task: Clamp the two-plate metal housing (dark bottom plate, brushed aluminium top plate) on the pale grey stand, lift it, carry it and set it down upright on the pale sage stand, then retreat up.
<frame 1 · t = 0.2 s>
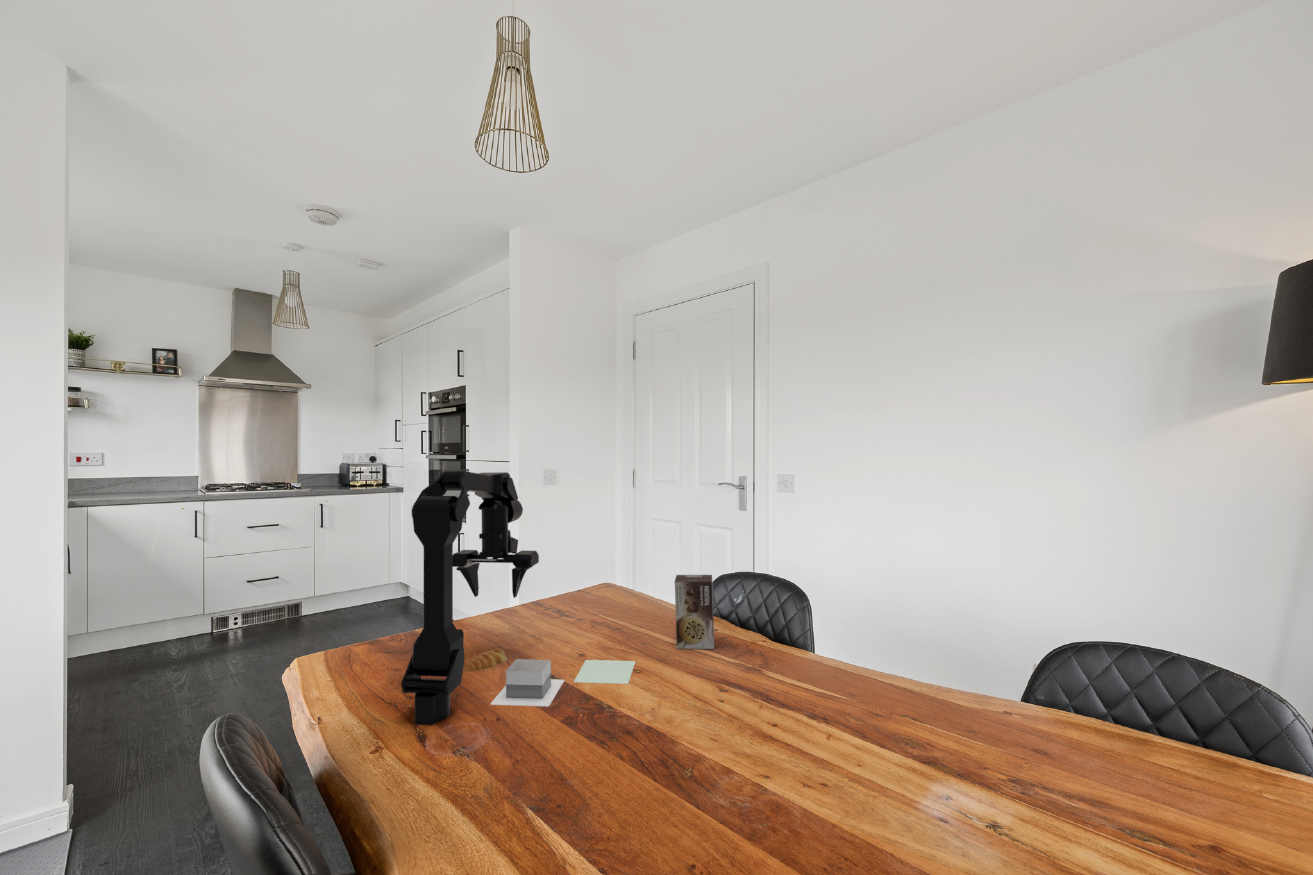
hand: (495, 596, 123), 14 cm above the table, fingers open, 9 cm apart
coffee box: (695, 645, 131), on the table
stand a: (529, 699, 104), on the table
housing: (529, 691, 104), point 1 cm above the table, touching stand a
stand b: (605, 678, 113), on the table
pastry: (486, 671, 119), on the table
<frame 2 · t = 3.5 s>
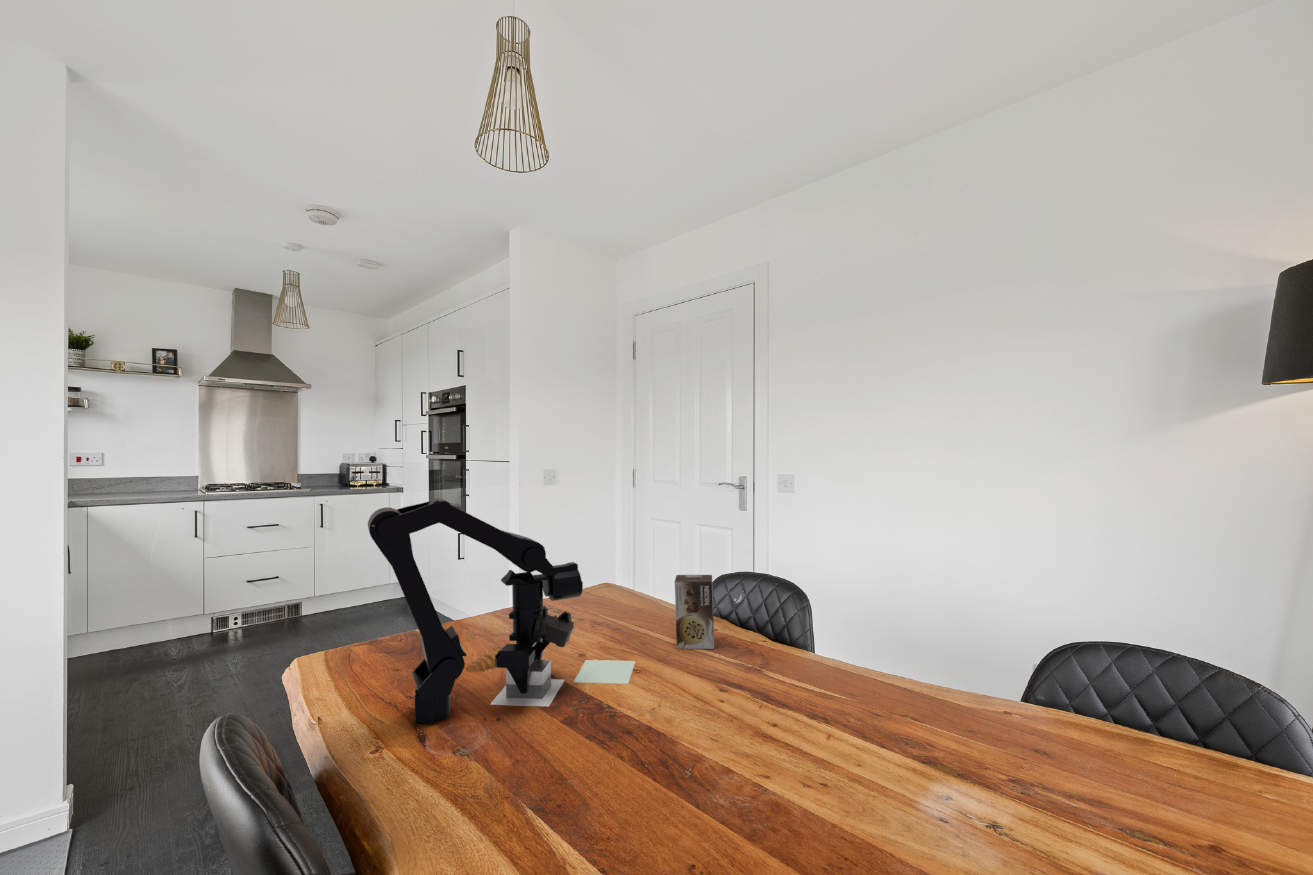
hand: (529, 686, 104), 3 cm above the table, fingers closed on housing, 5 cm apart
housing: (529, 691, 104), point 1 cm above the table, touching gripper, stand a
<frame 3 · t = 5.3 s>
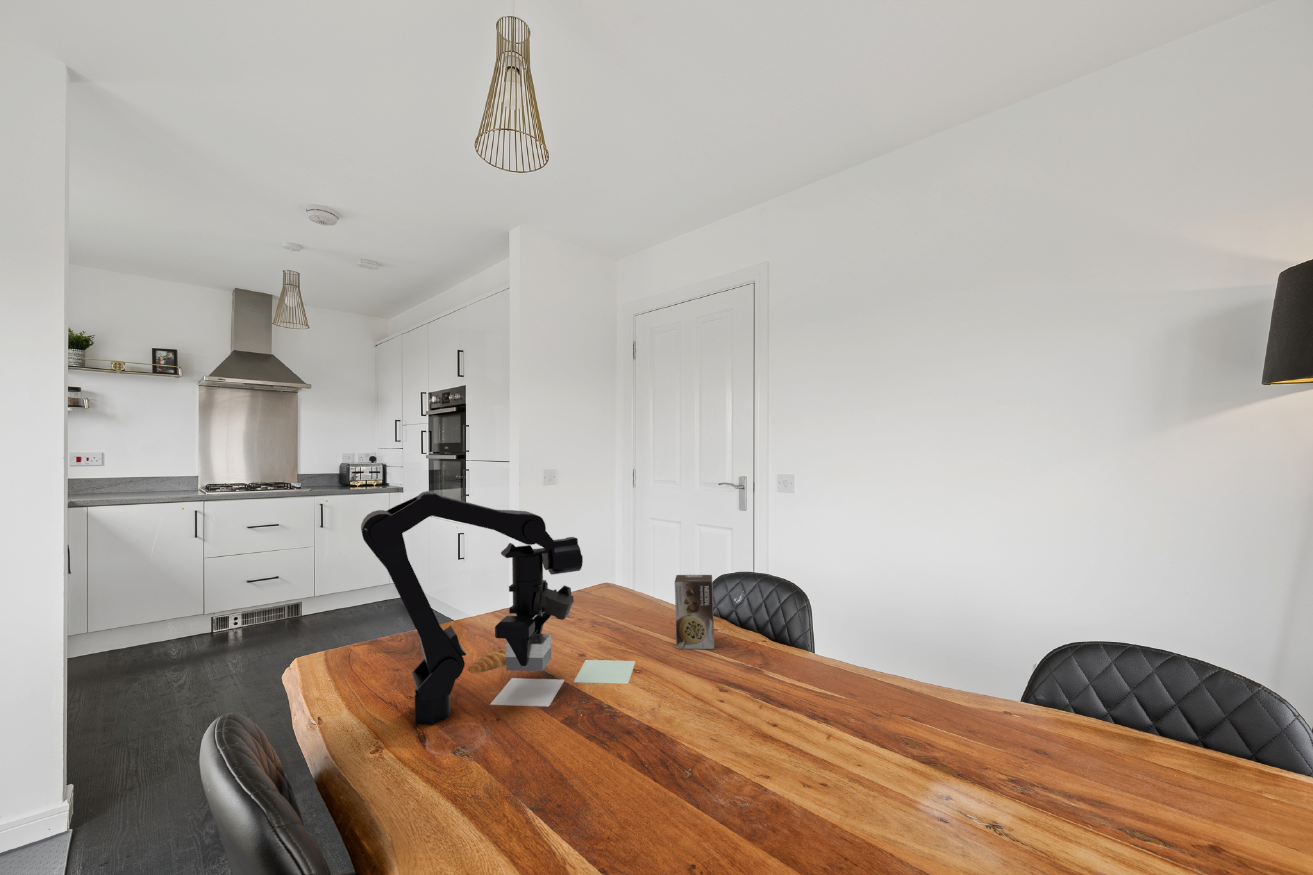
hand: (529, 659, 105), 8 cm above the table, fingers closed on housing, 5 cm apart
housing: (529, 664, 105), point 7 cm above the table, touching gripper
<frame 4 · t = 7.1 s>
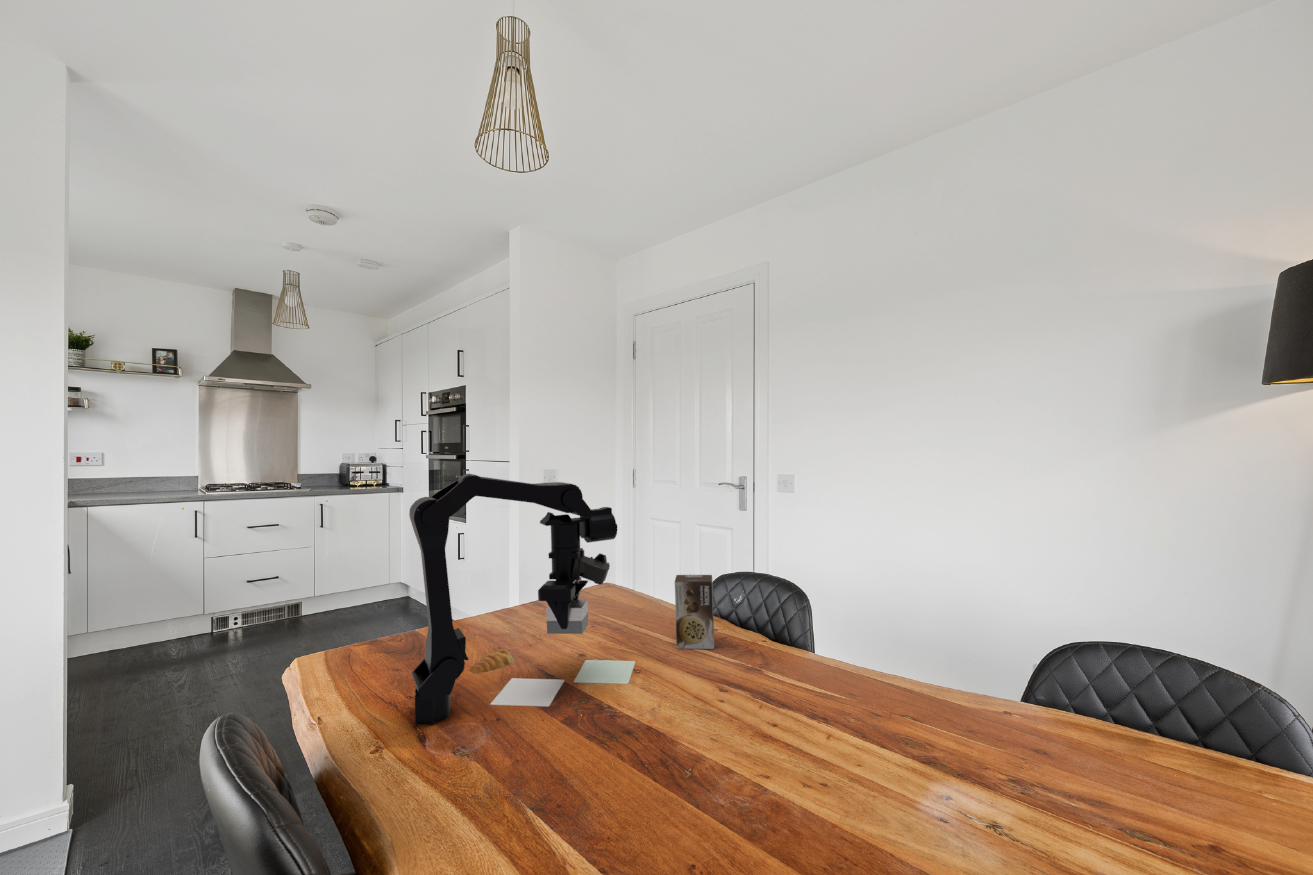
hand: (568, 623, 109), 13 cm above the table, fingers closed on housing, 5 cm apart
housing: (568, 628, 109), point 12 cm above the table, touching gripper
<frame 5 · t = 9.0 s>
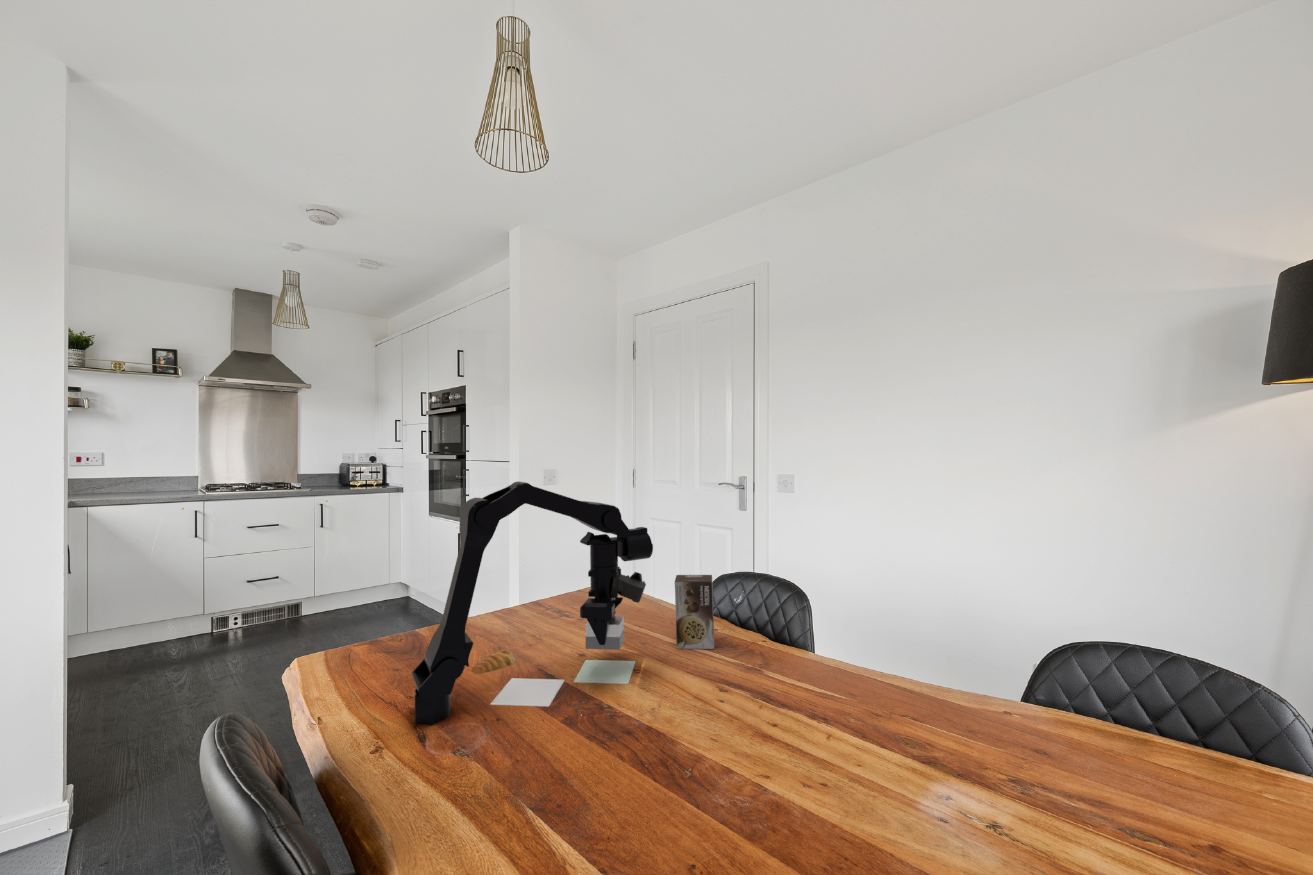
hand: (605, 639, 113), 8 cm above the table, fingers closed on housing, 5 cm apart
housing: (605, 644, 113), point 7 cm above the table, touching gripper
when the fingers open (4 cm above the table, at t = 10.8 s): housing drops 1 cm, resting on stand b.
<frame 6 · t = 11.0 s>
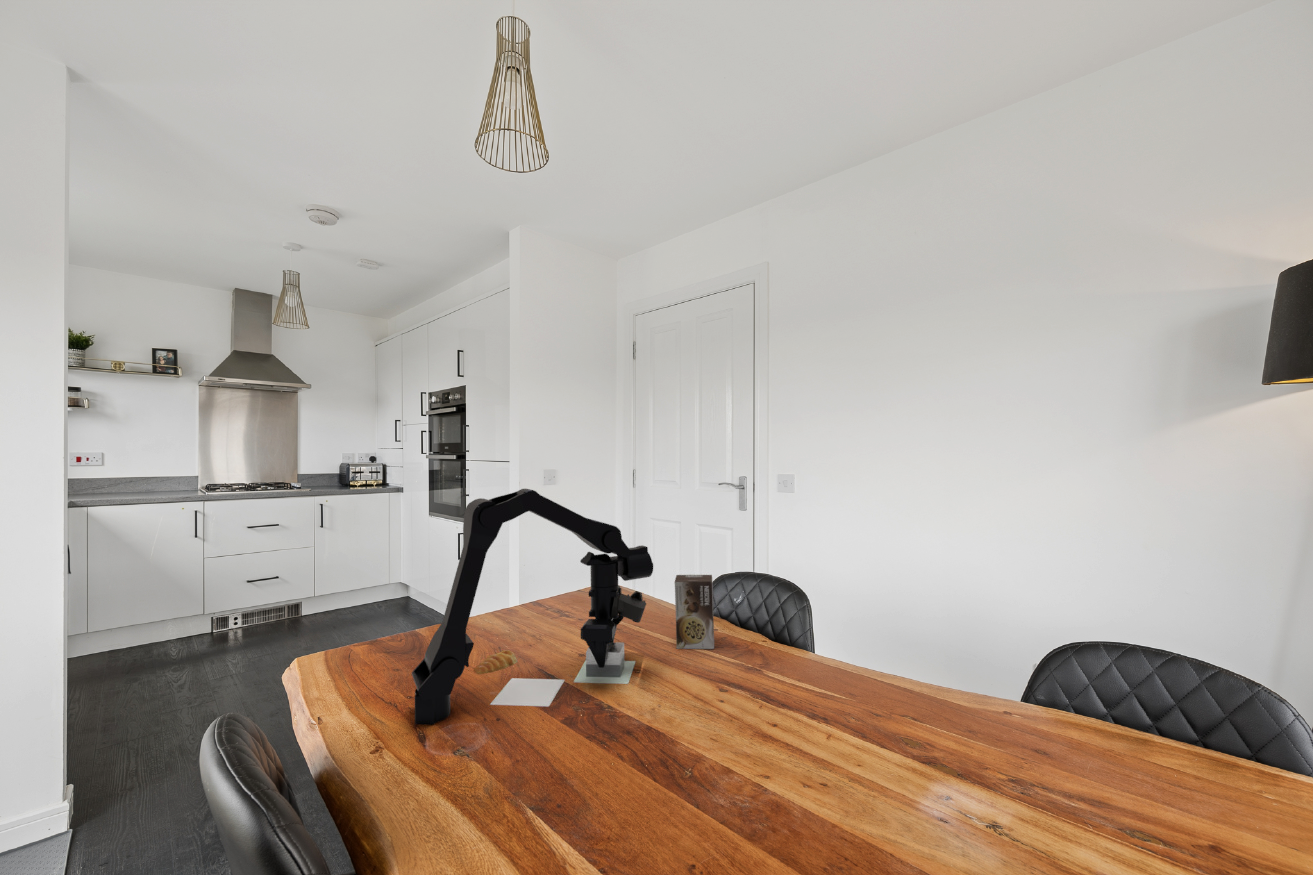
hand: (605, 659, 113), 4 cm above the table, fingers open, 8 cm apart
housing: (605, 671, 113), point 1 cm above the table, touching stand b
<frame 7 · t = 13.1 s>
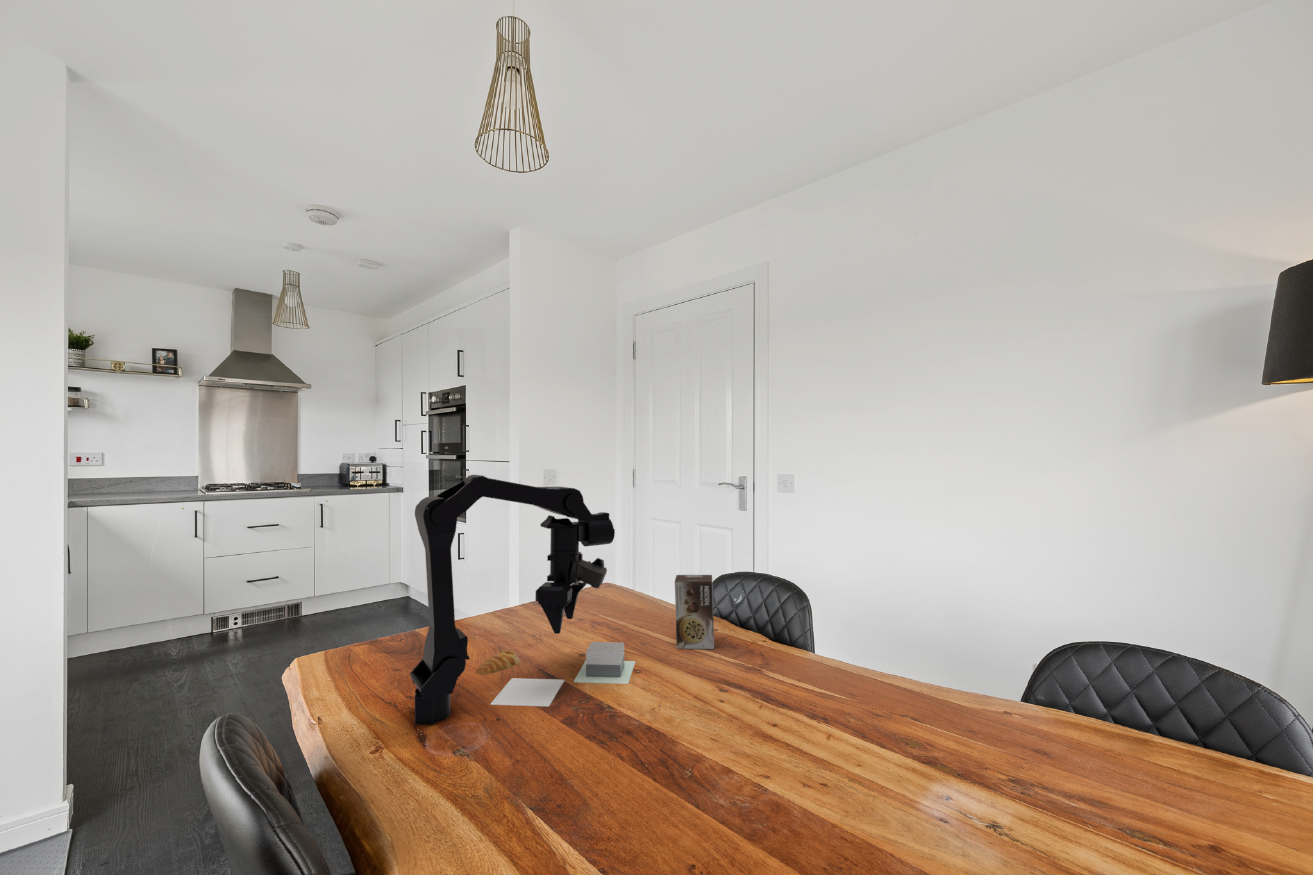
hand: (563, 625, 111), 12 cm above the table, fingers open, 9 cm apart
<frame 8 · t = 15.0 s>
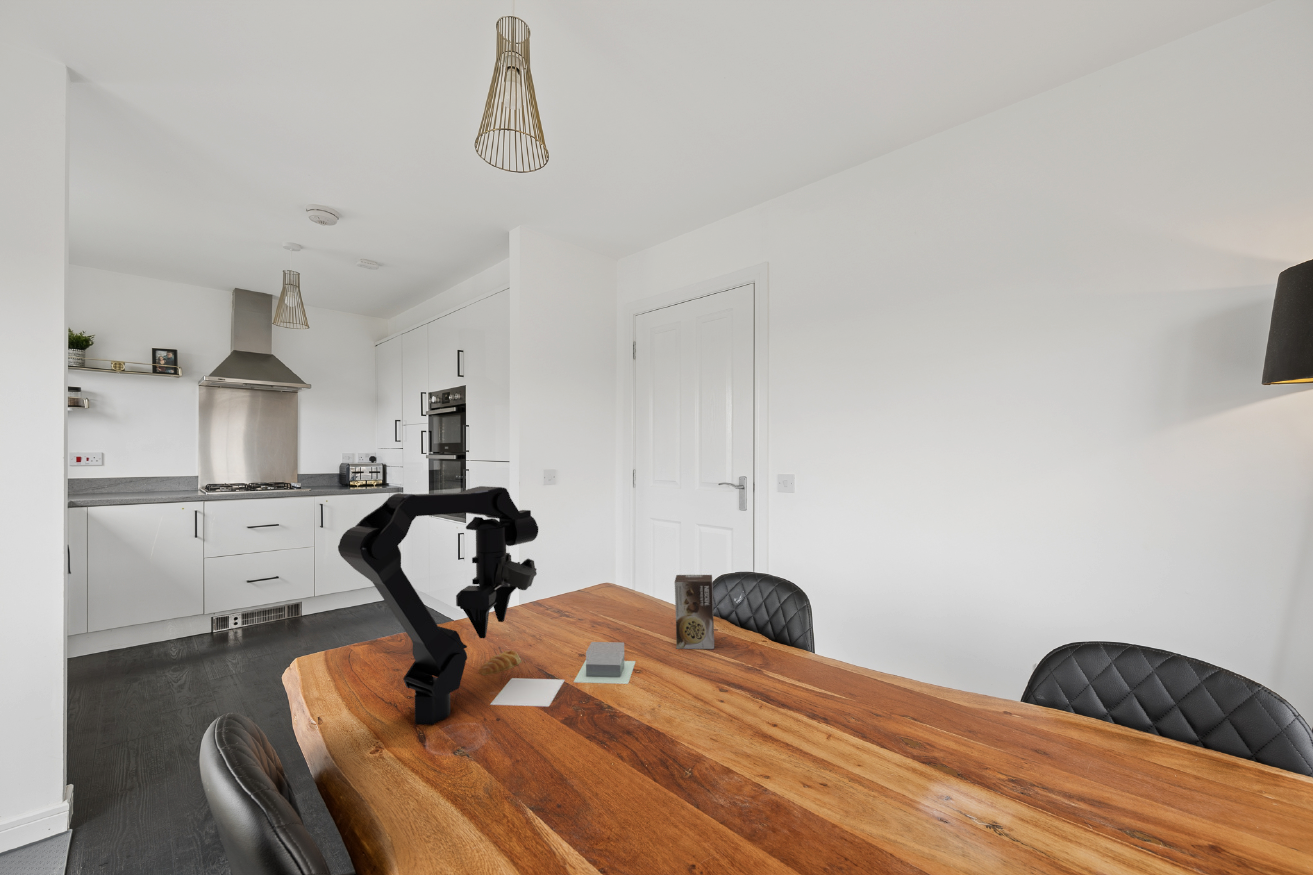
hand: (492, 629, 107), 13 cm above the table, fingers open, 9 cm apart
at the end: housing inside the target area on the stand b (0.1 cm from its centre), point 1.5 cm above the stand b's base; housing tilted 0°; the gripper is holding nothing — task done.
